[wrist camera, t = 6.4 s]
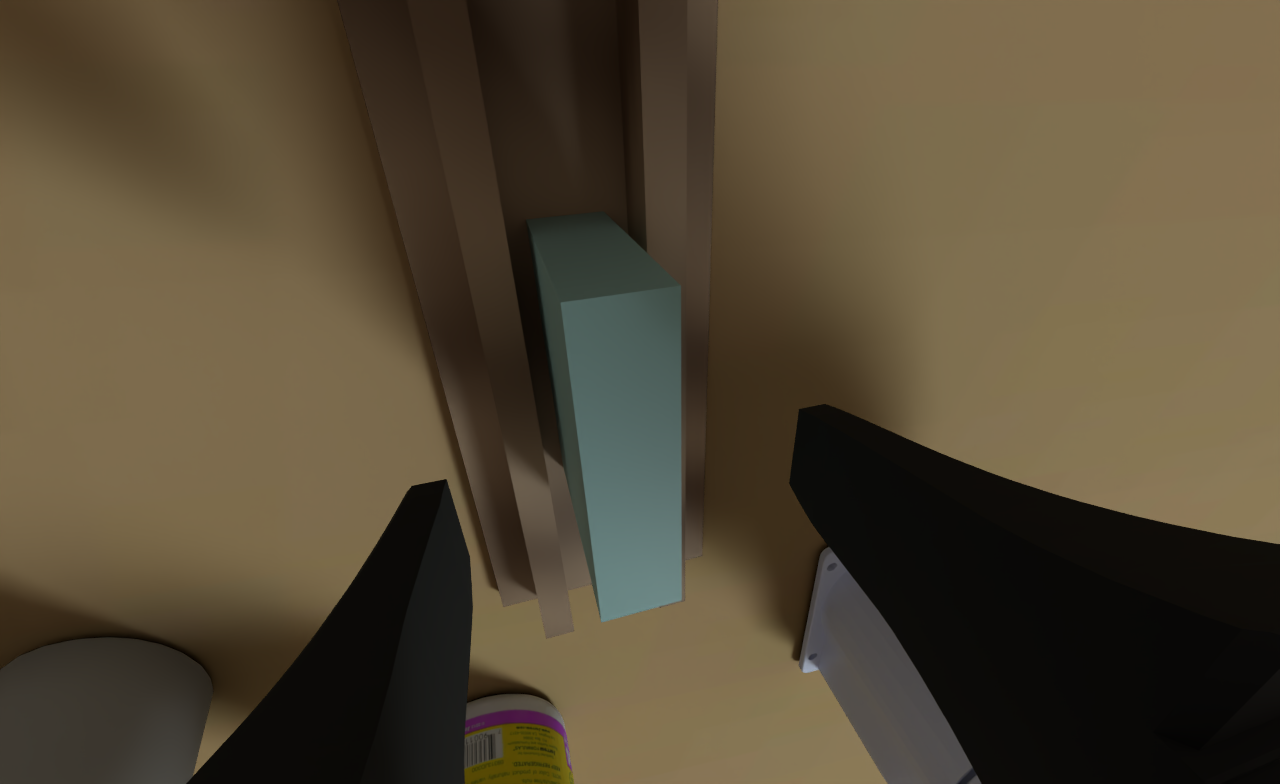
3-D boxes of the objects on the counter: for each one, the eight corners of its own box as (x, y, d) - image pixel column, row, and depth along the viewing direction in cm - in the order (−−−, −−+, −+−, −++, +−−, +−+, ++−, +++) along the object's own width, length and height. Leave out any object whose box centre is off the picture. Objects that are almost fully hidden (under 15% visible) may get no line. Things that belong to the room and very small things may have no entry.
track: (697, 545, 22) (778, 711, 16) (502, 594, 20) (516, 798, 15) (711, -167, 11) (981, -441, 5) (292, -188, 9) (0, -631, 4)
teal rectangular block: (622, 455, 18) (681, 600, 13) (563, 467, 17) (601, 622, 12) (603, 211, 14) (681, 285, 9) (525, 219, 13) (560, 302, 8)
